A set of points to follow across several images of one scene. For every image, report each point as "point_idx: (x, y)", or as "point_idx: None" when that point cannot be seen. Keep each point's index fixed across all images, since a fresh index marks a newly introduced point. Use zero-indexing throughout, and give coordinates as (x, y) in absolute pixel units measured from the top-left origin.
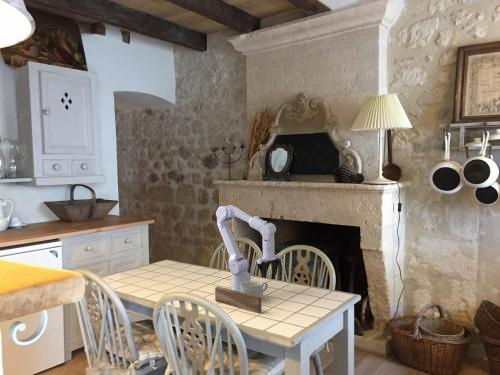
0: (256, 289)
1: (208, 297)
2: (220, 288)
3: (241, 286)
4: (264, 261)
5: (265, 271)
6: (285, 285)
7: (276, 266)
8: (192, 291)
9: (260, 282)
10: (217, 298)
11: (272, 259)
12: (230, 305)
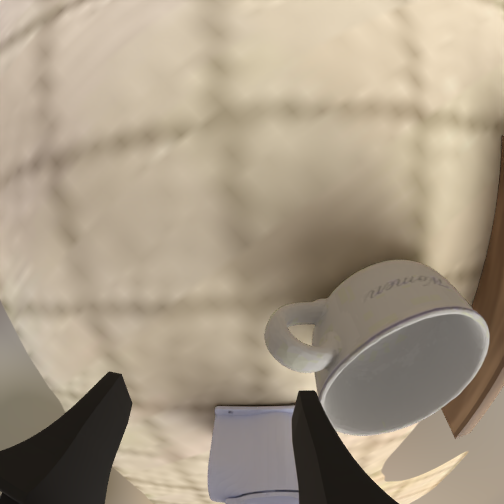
0: (460, 297)
1: (414, 426)
2: (483, 414)
3: (460, 386)
4: None
5: (336, 453)
6: (37, 312)
7: (73, 446)
8: (374, 472)
9: (337, 374)
10: None
11: None
12: None
